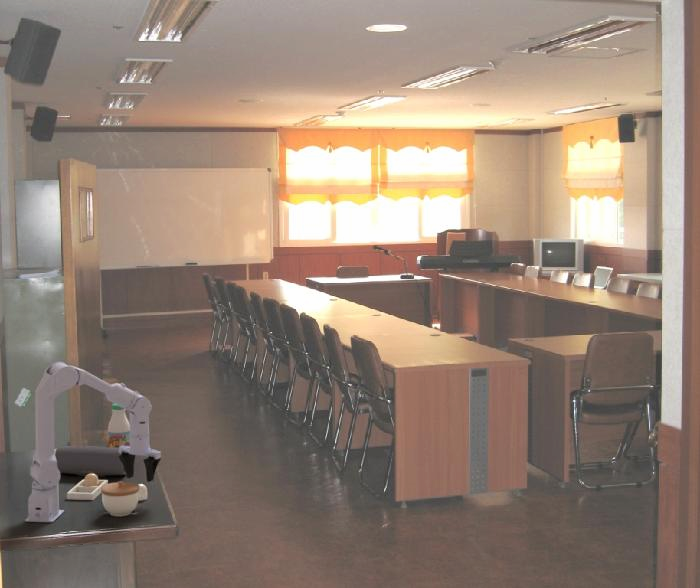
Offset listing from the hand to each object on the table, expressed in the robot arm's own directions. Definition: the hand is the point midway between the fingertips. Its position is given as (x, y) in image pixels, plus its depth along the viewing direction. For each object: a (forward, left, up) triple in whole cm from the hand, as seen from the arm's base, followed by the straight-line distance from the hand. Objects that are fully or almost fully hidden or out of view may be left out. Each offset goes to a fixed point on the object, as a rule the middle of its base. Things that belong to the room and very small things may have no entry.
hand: (140, 479), depth 293 cm
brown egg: (+7, +18, -6) cm, 20 cm away
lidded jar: (-12, +2, -7) cm, 14 cm away
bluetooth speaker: (+23, +23, -7) cm, 33 cm away
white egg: (0, 0, -7) cm, 7 cm away
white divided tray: (+4, +18, -7) cm, 19 cm away
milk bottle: (+42, +20, -7) cm, 47 cm away
